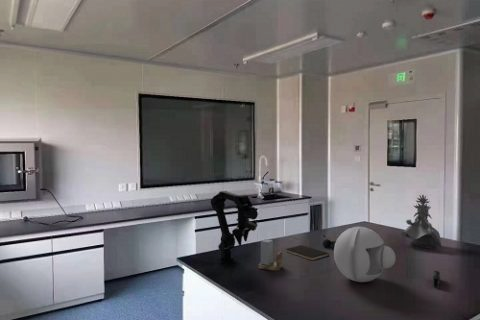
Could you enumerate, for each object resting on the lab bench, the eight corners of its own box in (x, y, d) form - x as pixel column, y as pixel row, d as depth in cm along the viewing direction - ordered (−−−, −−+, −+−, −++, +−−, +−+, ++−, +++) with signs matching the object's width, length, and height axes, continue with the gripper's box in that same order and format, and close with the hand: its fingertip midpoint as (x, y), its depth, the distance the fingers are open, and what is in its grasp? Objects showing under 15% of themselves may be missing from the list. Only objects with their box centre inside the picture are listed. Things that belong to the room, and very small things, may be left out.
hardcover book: (311, 261, 217) (311, 257, 217) (285, 252, 235) (285, 248, 235) (328, 256, 226) (328, 252, 226) (302, 248, 245) (302, 244, 245)
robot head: (390, 297, 163) (390, 237, 162) (326, 284, 179) (326, 230, 178) (399, 277, 187) (400, 225, 186) (342, 267, 203) (342, 219, 202)
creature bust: (442, 244, 248) (443, 194, 246) (440, 253, 228) (441, 198, 227) (405, 239, 261) (405, 192, 259) (400, 247, 241) (400, 196, 240)
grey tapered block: (260, 263, 205) (260, 241, 204) (265, 260, 210) (265, 238, 209) (268, 265, 202) (268, 242, 202) (273, 262, 207) (272, 240, 206)
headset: (318, 233, 244) (341, 233, 251) (317, 246, 244) (339, 246, 251) (330, 237, 232) (353, 237, 240) (329, 251, 232) (352, 251, 240)
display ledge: (258, 268, 204) (258, 252, 203) (262, 263, 211) (262, 248, 211) (278, 270, 199) (278, 254, 199) (282, 266, 207) (282, 250, 206)
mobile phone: (433, 269, 186) (432, 278, 173) (439, 270, 184) (440, 279, 171) (433, 279, 186) (432, 288, 173) (439, 280, 185) (439, 289, 171)
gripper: (250, 221, 196) (250, 249, 197) (260, 214, 214) (260, 240, 214) (231, 219, 200) (232, 247, 201) (243, 213, 218) (243, 238, 218)
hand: (242, 243), depth 209 cm, fingers open, 9 cm apart
